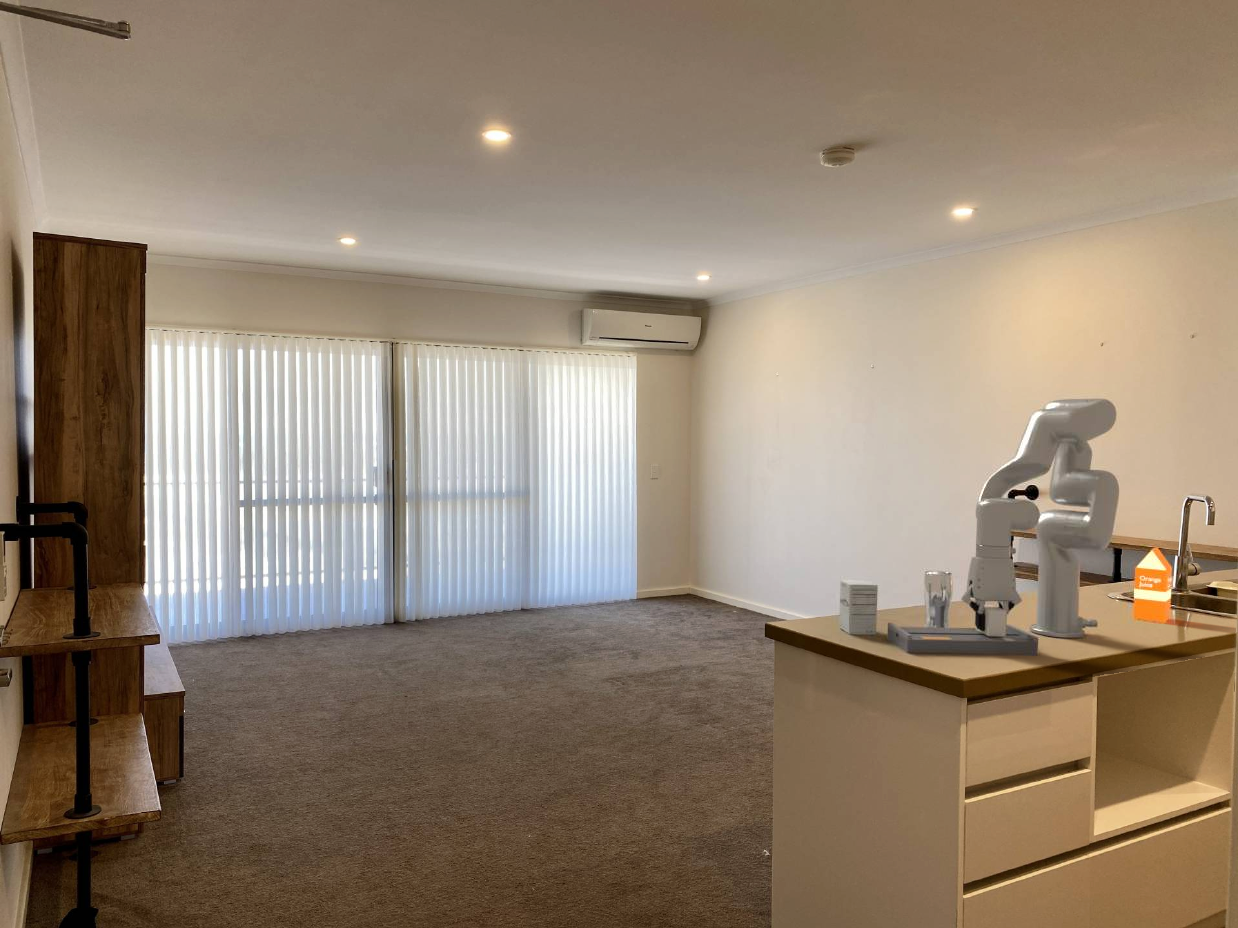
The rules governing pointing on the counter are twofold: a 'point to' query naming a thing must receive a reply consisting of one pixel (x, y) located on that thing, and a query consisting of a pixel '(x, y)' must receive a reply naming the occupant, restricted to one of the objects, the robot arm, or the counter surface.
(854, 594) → the supplement box
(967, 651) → the fader board
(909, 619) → the counter surface
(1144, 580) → the orange juice
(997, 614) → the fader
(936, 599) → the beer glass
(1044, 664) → the counter surface
